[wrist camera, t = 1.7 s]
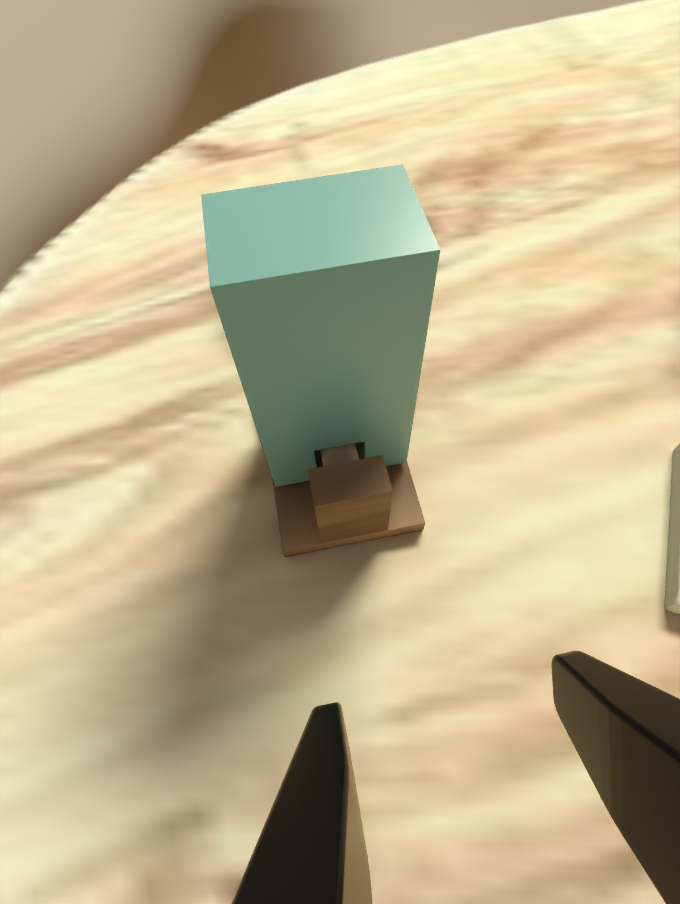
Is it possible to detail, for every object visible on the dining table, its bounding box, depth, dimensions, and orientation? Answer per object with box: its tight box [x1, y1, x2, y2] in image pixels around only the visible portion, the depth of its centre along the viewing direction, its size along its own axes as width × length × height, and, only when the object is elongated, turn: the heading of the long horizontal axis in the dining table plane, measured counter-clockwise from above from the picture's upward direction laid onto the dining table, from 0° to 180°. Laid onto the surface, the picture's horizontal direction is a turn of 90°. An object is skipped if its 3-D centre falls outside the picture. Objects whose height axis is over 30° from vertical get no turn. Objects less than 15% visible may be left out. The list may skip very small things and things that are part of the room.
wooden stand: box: [273, 443, 425, 557], centre depth 26 cm, size 18×6×5 cm, turn 11°
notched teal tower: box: [201, 165, 440, 487], centre depth 20 cm, size 4×6×12 cm, turn 101°
